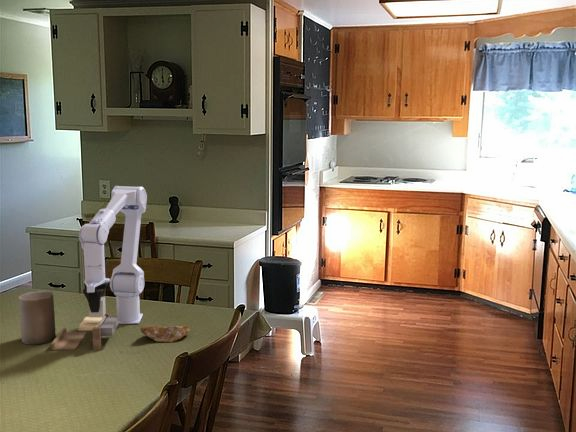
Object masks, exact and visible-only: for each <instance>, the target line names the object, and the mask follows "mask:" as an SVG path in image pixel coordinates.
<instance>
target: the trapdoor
mask: <svg viewBox="0 0 576 432" xmlns="http://www.w3.org/2000/svg"><path fill="white" fill-rule="evenodd" d="M105 318H106V316H104V317H89V315H86V316H85V317H84V318H83V320H82V321H81V323H80V324H79V326H77V332H86V331H92V328H93V327H101V337H113V336H114V333H115V332H116V330H117V327H119V324H118V317H117V316H116V317H115V316H114V317H110V316H109V317H107V318H106V319H105ZM104 320H105V321H104ZM103 322H104V323H103ZM102 323H103V324H102Z"/></svg>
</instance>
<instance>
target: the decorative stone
mask: <svg viewBox="0 0 576 432" xmlns="http://www.w3.org/2000/svg"><path fill="white" fill-rule="evenodd" d="M139 330H140V333H142V334H143V335H144V336H146V337H148V338H150V339H152V340H153V341H155V342H158V343H161V342H162V343H174V342H176V341H178V340H181V339H182V338H184V337H185V336H187V335H188V334H189V333H190V331H191V329H190V327H189V326H184V325H183V326H182V325H181V326H180V325H175V326H165V327H164V326H163V325H153V324H152V325H147V326H142V327H141V328H140V329H139Z"/></svg>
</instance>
